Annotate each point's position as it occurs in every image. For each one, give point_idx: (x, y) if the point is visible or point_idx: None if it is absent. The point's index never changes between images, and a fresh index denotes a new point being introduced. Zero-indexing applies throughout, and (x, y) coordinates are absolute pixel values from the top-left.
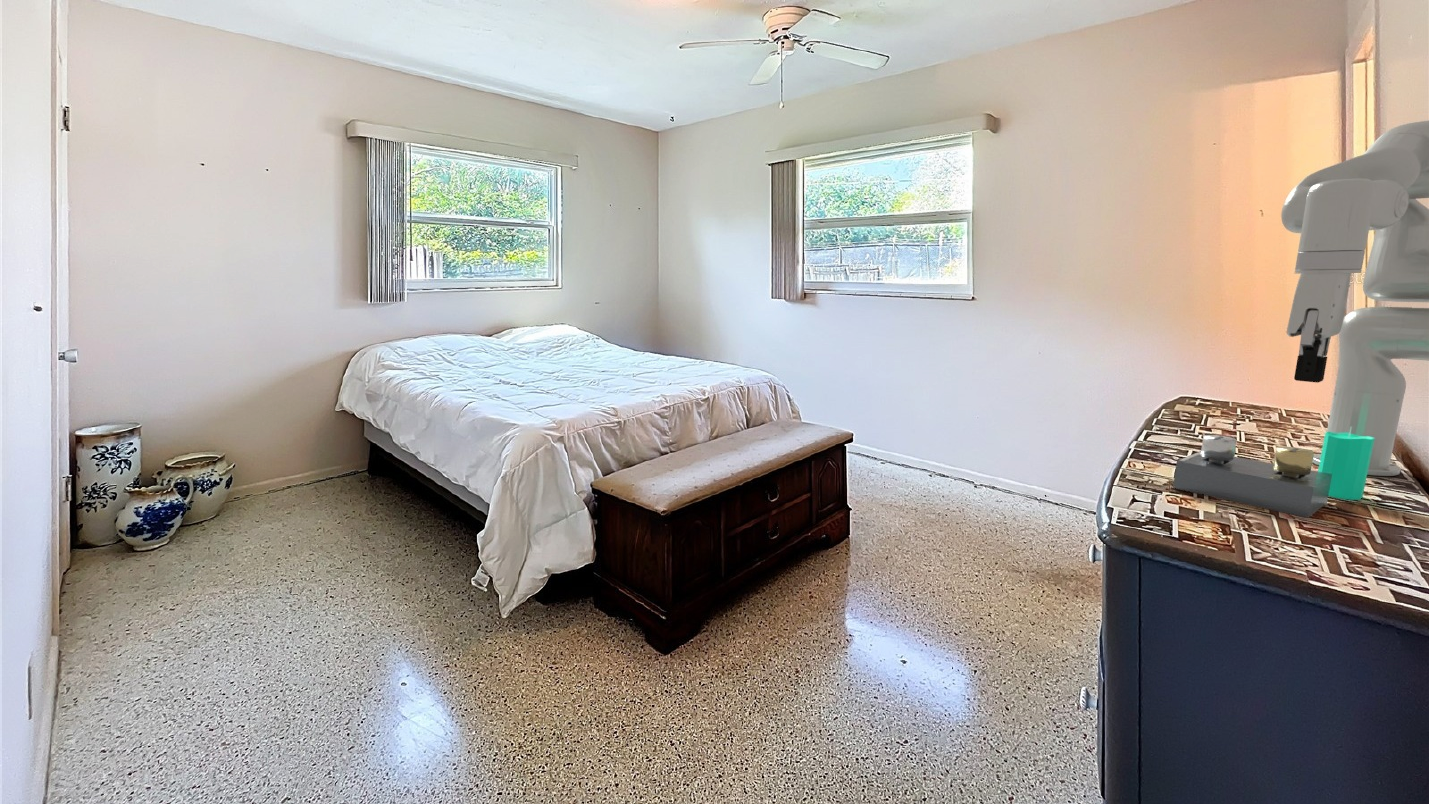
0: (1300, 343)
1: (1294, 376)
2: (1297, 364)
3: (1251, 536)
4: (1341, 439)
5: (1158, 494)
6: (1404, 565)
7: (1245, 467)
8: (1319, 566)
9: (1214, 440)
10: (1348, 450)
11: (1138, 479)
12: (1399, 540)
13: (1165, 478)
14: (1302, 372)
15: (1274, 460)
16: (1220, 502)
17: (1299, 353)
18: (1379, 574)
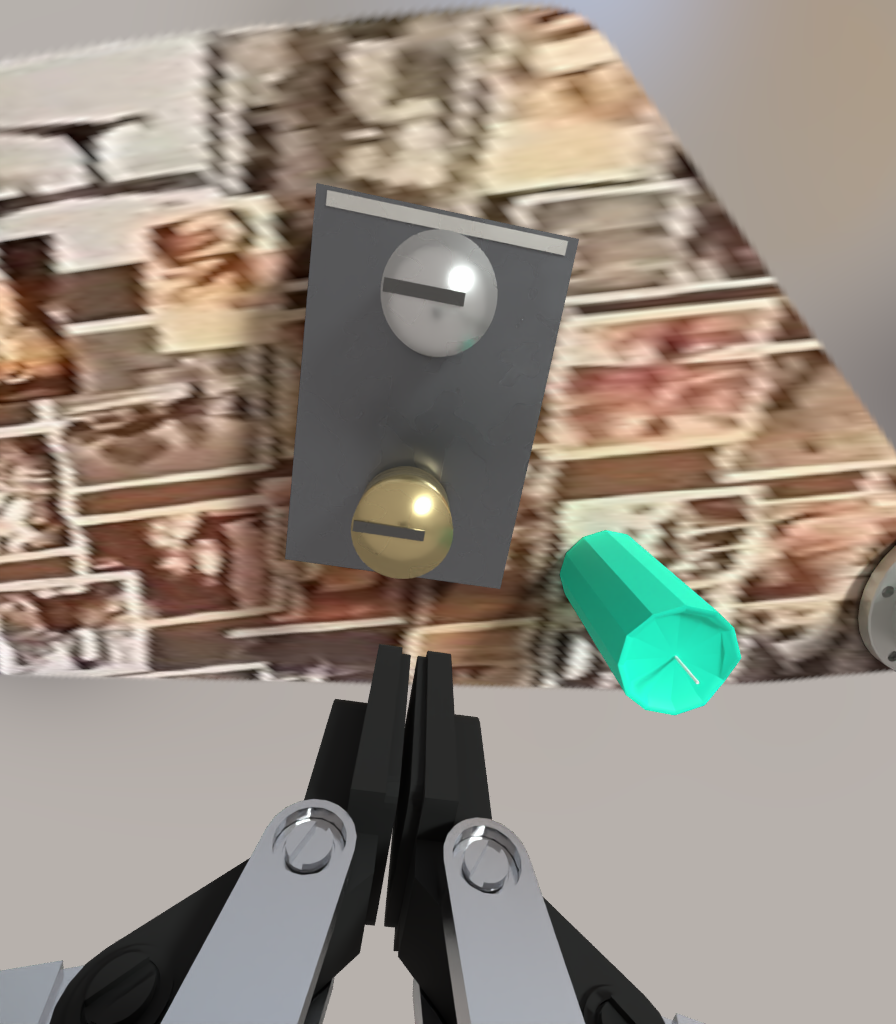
0: (195, 969)
1: (378, 653)
2: (363, 725)
3: (30, 442)
4: (623, 642)
5: (221, 188)
6: (110, 662)
7: (399, 396)
8: None
9: (382, 281)
10: (603, 642)
11: (364, 91)
12: (281, 659)
13: (450, 173)
14: (329, 717)
15: (388, 474)
16: (284, 353)
17: (267, 829)
18: (8, 632)
